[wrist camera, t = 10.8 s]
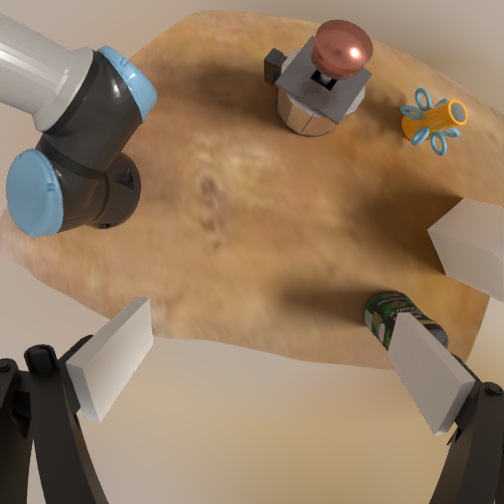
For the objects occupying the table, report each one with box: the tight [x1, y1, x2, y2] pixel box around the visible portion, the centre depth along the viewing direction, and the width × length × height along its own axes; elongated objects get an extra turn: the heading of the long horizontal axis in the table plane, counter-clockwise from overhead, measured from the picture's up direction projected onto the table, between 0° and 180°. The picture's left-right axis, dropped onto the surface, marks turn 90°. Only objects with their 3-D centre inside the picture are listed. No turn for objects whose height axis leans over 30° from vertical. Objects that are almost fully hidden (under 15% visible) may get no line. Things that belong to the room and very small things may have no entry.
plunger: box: [310, 20, 373, 88], centre depth 31 cm, size 6×6×22 cm
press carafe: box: [264, 36, 372, 137], centre depth 37 cm, size 14×11×15 cm
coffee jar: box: [365, 292, 448, 351], centre depth 43 cm, size 10×8×19 cm
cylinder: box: [400, 88, 468, 156], centre depth 37 cm, size 12×10×15 cm
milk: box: [427, 198, 504, 301], centre depth 36 cm, size 12×12×26 cm
